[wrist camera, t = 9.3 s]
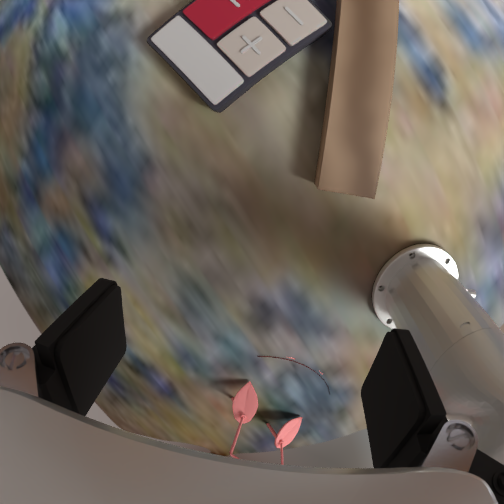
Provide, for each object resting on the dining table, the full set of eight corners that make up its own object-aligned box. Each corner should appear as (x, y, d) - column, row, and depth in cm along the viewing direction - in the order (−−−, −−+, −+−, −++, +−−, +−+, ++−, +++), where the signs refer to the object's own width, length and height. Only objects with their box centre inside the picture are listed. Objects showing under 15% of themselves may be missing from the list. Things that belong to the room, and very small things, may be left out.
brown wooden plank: (389, -54, 20) (397, -64, 17) (366, 192, 33) (374, 198, 30) (340, -67, 20) (345, -79, 18) (314, 183, 33) (318, 189, 31)
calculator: (336, 22, 23) (213, 112, 27) (327, 33, 27) (219, 114, 31) (260, -48, 20) (141, 38, 24) (260, -30, 24) (154, 47, 28)
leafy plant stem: (291, 443, 52) (294, 610, 20) (191, 371, 45) (137, 594, 13) (362, 410, 48) (398, 593, 16) (272, 322, 41) (270, 613, 9)
